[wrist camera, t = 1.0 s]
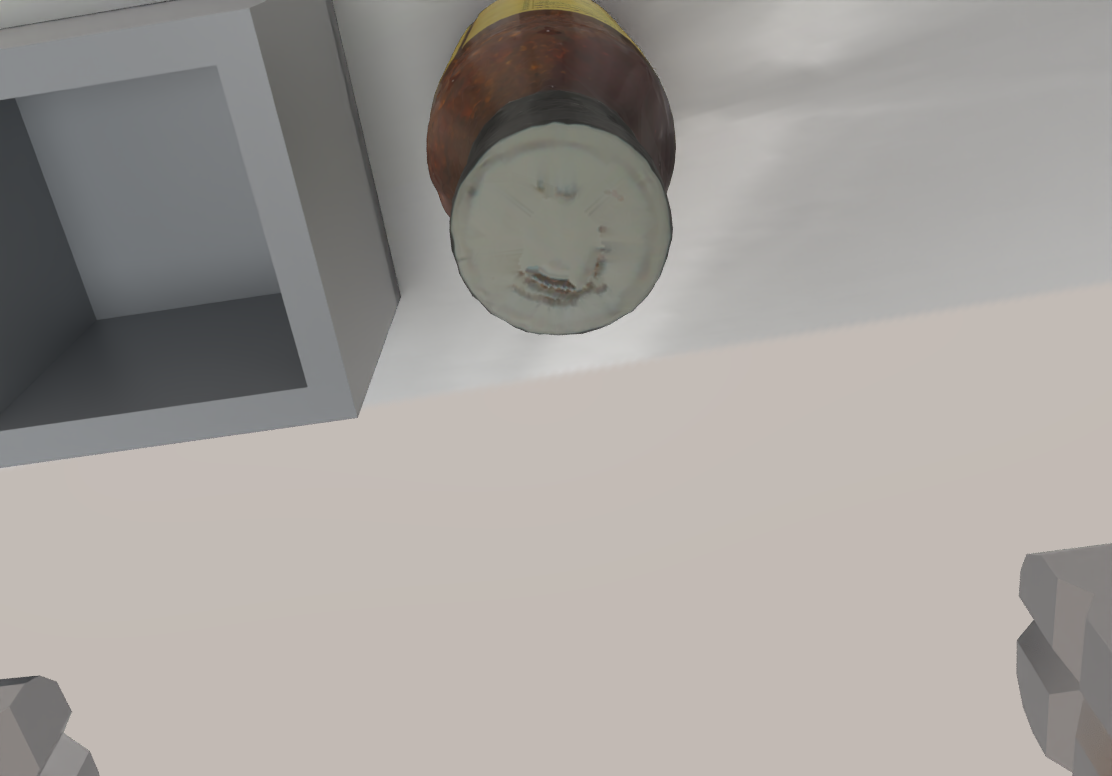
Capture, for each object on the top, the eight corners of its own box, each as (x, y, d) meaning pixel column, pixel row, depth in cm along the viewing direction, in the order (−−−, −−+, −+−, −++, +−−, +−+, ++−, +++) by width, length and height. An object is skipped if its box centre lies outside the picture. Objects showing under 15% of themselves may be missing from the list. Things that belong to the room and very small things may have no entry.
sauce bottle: (544, 201, 39) (539, 478, 21) (417, 76, 37) (291, 265, 19) (678, 70, 37) (798, 253, 19) (550, -69, 35) (550, -11, 17)
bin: (325, -26, 35) (249, 8, 26) (400, 296, 40) (357, 417, 31) (-29, 33, 36) (-221, 86, 27) (87, 343, 41) (-43, 473, 32)
